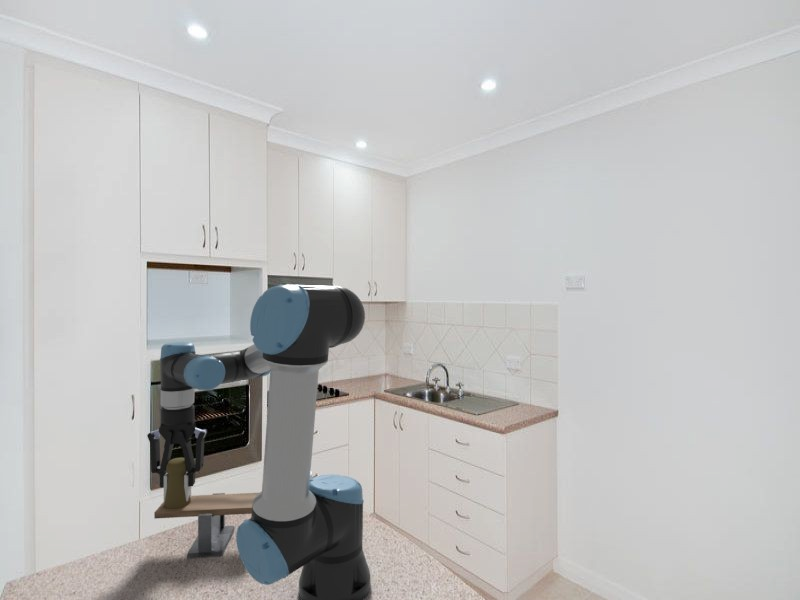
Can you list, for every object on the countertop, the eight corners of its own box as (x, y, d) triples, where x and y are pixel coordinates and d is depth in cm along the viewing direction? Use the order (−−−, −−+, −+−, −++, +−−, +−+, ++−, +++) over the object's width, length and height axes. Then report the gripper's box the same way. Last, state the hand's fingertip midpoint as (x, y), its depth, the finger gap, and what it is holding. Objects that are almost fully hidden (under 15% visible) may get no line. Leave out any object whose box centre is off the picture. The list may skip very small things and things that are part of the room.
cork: (180, 510, 106) (180, 465, 106) (158, 507, 107) (158, 462, 107) (196, 498, 112) (196, 455, 112) (174, 496, 113) (175, 453, 113)
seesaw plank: (257, 517, 108) (257, 508, 108) (153, 522, 105) (153, 513, 105) (264, 499, 117) (264, 491, 117) (168, 504, 114) (168, 495, 114)
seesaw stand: (222, 556, 106) (222, 514, 106) (187, 558, 105) (187, 516, 105) (234, 530, 117) (234, 492, 117) (203, 531, 116) (202, 494, 116)
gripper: (218, 401, 114) (217, 491, 115) (147, 402, 112) (147, 493, 113) (209, 408, 107) (209, 505, 107) (133, 410, 105) (133, 508, 105)
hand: (177, 499), depth 110 cm, fingers closed on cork, 4 cm apart
